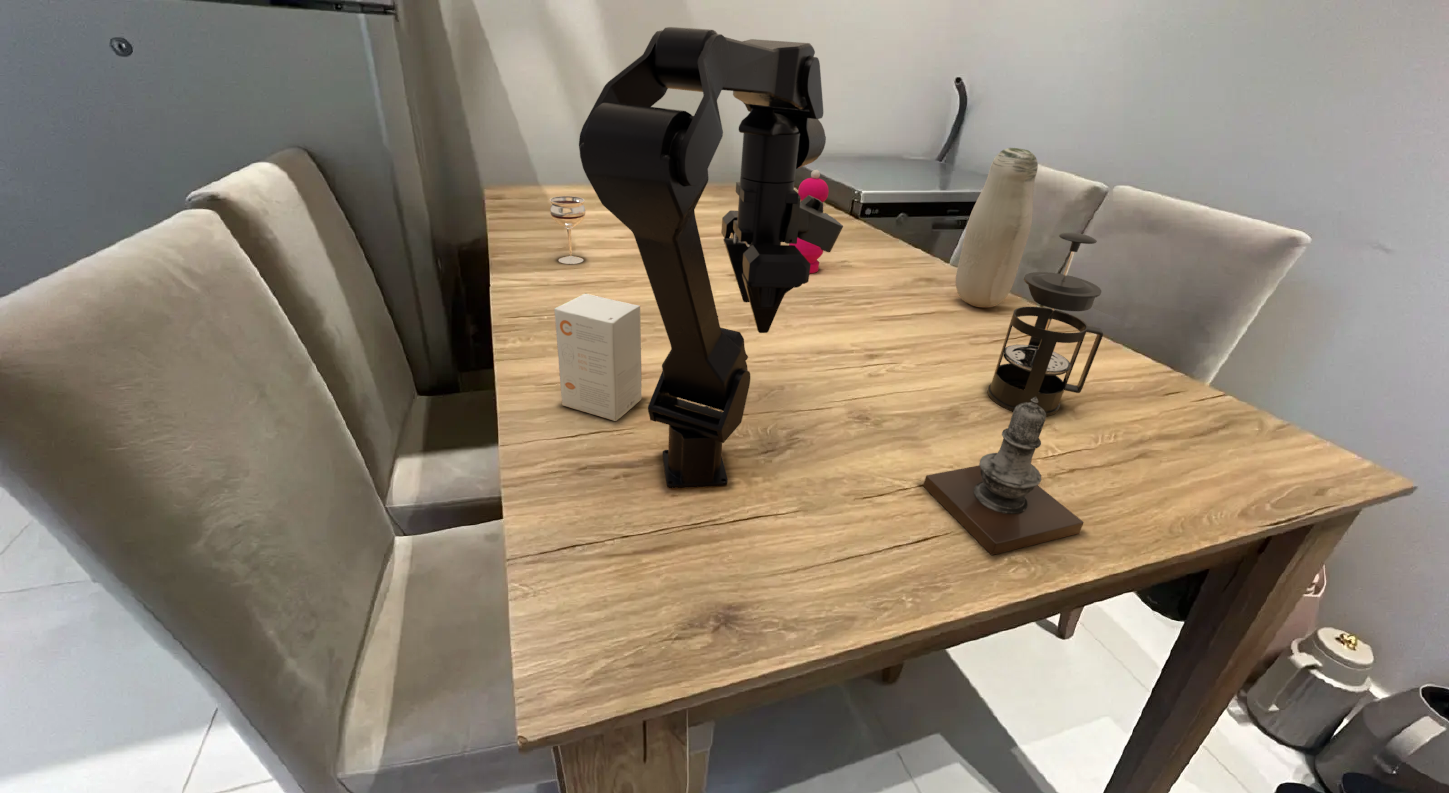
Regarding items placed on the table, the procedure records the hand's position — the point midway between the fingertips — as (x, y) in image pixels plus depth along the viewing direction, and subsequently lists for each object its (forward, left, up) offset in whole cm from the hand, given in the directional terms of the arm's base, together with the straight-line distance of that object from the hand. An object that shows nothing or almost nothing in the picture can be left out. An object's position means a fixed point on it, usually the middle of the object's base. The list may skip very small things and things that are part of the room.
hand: (754, 316), depth 74 cm
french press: (+1, -40, -13) cm, 42 cm away
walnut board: (-21, -23, -13) cm, 34 cm away
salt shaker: (-21, -23, -12) cm, 33 cm away
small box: (+3, +18, -13) cm, 23 cm away
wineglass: (+61, +25, -13) cm, 67 cm away
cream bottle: (+37, -52, -13) cm, 65 cm away
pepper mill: (+57, -23, -13) cm, 63 cm away
